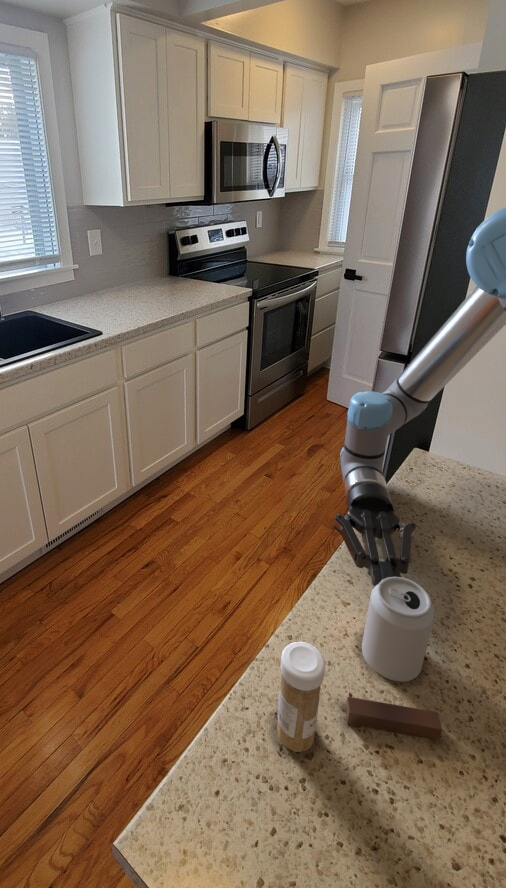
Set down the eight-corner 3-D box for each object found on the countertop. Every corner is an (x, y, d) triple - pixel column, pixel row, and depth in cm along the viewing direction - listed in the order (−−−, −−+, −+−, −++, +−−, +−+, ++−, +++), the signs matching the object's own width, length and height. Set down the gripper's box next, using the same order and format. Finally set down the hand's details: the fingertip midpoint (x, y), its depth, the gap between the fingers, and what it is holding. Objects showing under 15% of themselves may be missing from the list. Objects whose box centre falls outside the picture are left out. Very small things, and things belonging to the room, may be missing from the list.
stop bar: (432, 728, 57) (437, 711, 56) (437, 746, 56) (442, 729, 54) (344, 712, 59) (347, 696, 58) (346, 729, 58) (349, 713, 56)
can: (422, 694, 61) (440, 626, 56) (359, 675, 64) (371, 609, 59) (418, 644, 67) (434, 579, 63) (361, 629, 70) (372, 565, 65)
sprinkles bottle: (319, 757, 55) (331, 677, 49) (279, 759, 55) (287, 680, 49) (308, 715, 59) (318, 638, 54) (271, 718, 59) (277, 640, 53)
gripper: (403, 519, 88) (438, 630, 67) (328, 511, 90) (339, 615, 69) (410, 485, 85) (448, 589, 64) (332, 477, 87) (344, 576, 66)
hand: (391, 603), depth 66 cm, fingers closed
